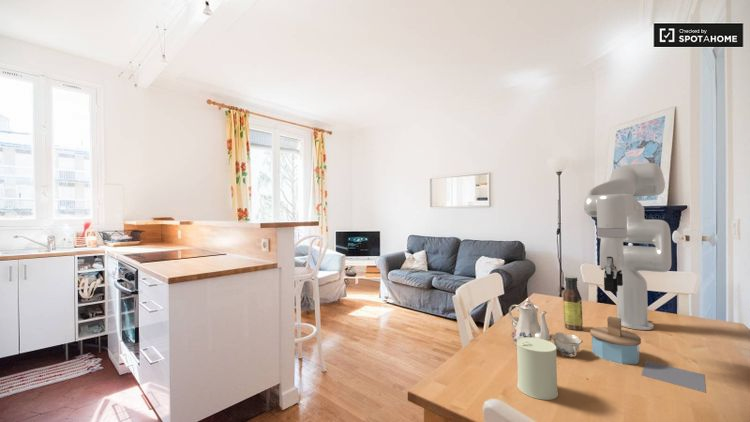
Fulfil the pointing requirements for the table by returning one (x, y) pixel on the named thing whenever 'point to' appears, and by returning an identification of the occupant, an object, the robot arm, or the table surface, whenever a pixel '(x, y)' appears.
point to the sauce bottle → (572, 305)
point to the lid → (615, 333)
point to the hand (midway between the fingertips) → (613, 288)
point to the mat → (674, 376)
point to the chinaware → (540, 329)
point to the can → (537, 368)
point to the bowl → (615, 352)
